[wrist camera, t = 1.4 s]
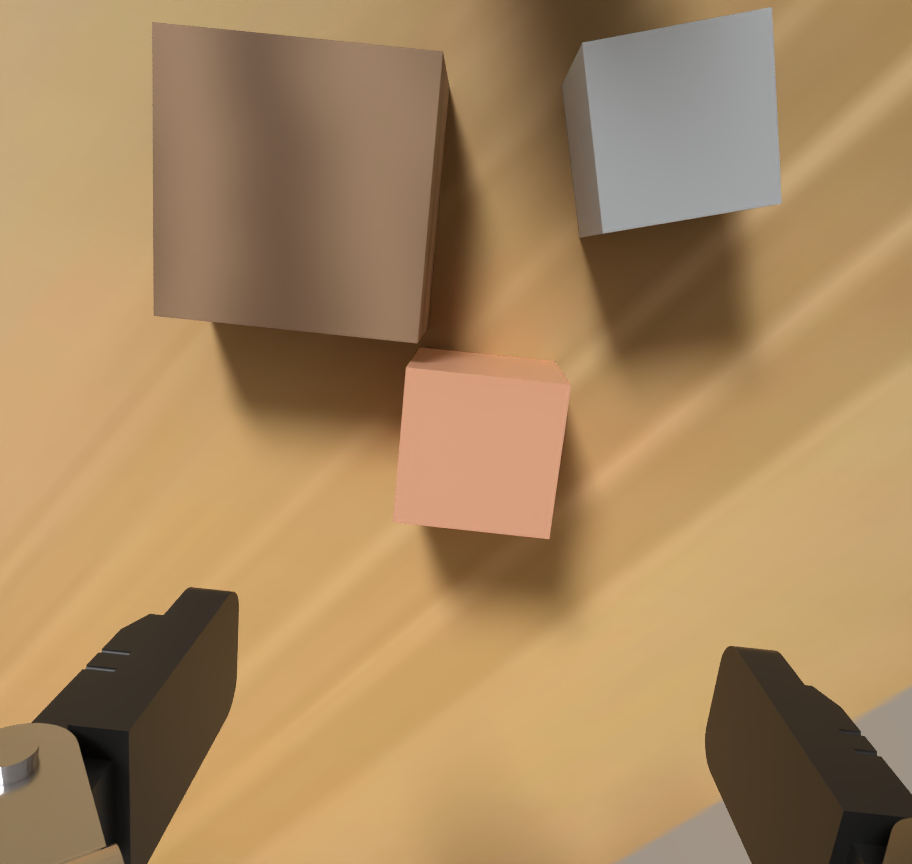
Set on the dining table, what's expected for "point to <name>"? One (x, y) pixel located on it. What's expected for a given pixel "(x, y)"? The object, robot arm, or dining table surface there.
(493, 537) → the dining table surface
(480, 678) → the dining table surface
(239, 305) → the walnut base block
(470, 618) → the dining table surface
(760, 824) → the robot arm
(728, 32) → the slate cube
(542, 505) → the terracotta cube
